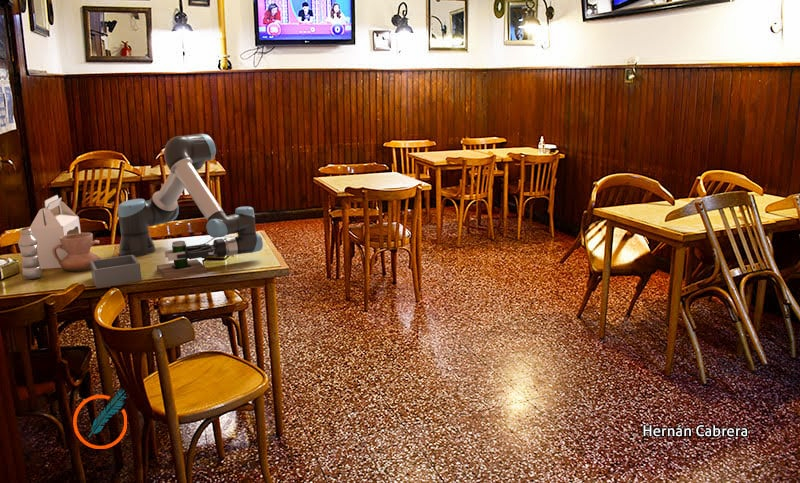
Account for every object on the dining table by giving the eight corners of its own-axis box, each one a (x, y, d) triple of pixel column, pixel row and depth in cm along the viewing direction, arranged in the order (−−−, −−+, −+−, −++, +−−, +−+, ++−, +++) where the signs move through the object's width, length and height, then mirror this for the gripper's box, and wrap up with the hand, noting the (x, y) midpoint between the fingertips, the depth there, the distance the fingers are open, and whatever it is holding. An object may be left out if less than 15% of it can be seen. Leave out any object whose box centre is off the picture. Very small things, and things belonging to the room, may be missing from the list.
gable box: (68, 267, 276) (58, 201, 269) (34, 269, 274) (24, 203, 267) (84, 254, 297) (75, 192, 291) (52, 256, 295) (43, 194, 288)
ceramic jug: (106, 262, 282) (100, 229, 279) (100, 270, 269) (95, 236, 265) (59, 267, 278) (54, 234, 274) (52, 276, 264) (46, 241, 261)
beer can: (176, 273, 262) (173, 244, 259) (173, 271, 266) (170, 242, 263) (190, 271, 265) (187, 242, 262) (186, 268, 269) (183, 240, 266)
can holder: (157, 269, 268) (156, 265, 268) (197, 263, 276) (196, 259, 276) (165, 279, 255) (164, 274, 254) (206, 272, 263) (206, 267, 262)
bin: (92, 277, 259) (89, 260, 258) (135, 271, 267) (133, 254, 265) (96, 288, 246) (94, 270, 244) (142, 281, 254) (139, 263, 252)
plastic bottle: (28, 276, 264) (20, 227, 259) (45, 275, 264) (38, 226, 259) (20, 281, 257) (12, 231, 253) (38, 280, 258) (30, 230, 253)
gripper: (231, 261, 266) (172, 270, 254) (219, 251, 281) (162, 260, 270) (230, 242, 264) (170, 251, 253) (217, 234, 279) (160, 242, 268)
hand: (166, 255), depth 261 cm, fingers closed on beer can, 5 cm apart
